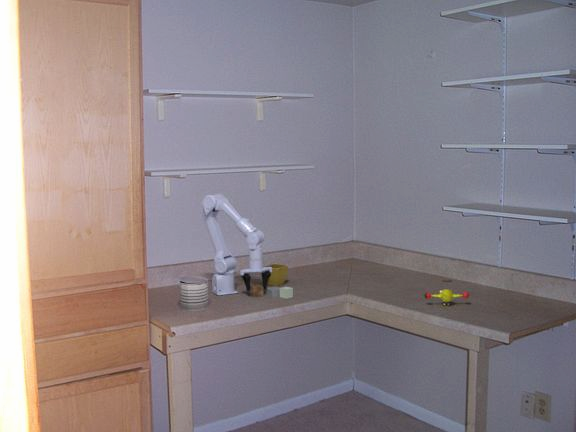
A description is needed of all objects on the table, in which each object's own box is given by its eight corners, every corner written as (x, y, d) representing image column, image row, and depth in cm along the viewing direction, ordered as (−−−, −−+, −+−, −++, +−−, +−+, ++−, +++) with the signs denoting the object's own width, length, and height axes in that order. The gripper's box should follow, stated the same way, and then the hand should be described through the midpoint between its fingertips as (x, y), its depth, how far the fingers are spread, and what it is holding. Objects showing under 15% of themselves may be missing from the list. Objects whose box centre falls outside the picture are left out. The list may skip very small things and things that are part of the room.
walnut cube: (253, 297, 271) (253, 287, 270) (249, 295, 275) (249, 285, 274) (263, 296, 273) (263, 286, 272) (258, 294, 277) (258, 284, 276)
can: (194, 302, 263) (193, 274, 262) (214, 306, 257) (213, 277, 256) (174, 308, 254) (173, 279, 253) (195, 312, 248) (194, 282, 246)
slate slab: (272, 297, 272) (272, 290, 272) (265, 294, 277) (265, 288, 277) (284, 295, 275) (284, 289, 275) (277, 293, 280) (277, 286, 280)
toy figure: (466, 303, 258) (467, 287, 257) (470, 307, 253) (470, 290, 252) (422, 304, 258) (422, 287, 257) (425, 307, 253) (425, 290, 252)
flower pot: (277, 287, 289) (276, 268, 288) (262, 285, 294) (262, 266, 293) (288, 284, 296) (288, 265, 295) (274, 282, 301) (273, 263, 300)
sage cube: (286, 298, 269) (286, 289, 269) (279, 297, 272) (279, 288, 271) (292, 297, 272) (292, 288, 271) (286, 295, 275) (286, 286, 274)
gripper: (244, 261, 265) (244, 293, 267) (275, 258, 272) (275, 289, 273) (237, 259, 271) (238, 290, 273) (267, 256, 278) (268, 286, 280)
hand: (256, 289), depth 274 cm, fingers open, 7 cm apart
